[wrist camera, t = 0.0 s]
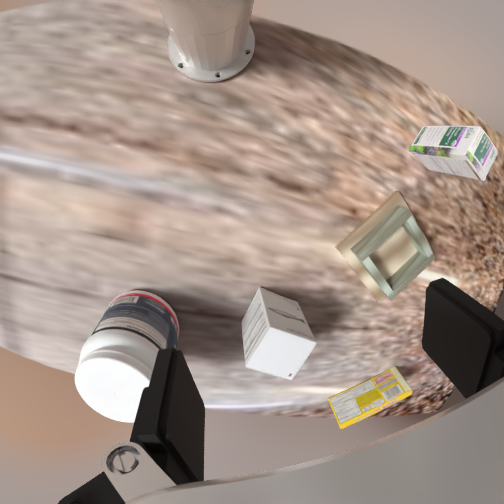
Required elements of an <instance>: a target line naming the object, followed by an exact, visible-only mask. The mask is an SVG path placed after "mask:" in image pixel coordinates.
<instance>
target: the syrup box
mask: <svg viewBox="0 0 504 504" xmlns="http://www.w3.org/2000/svg"><path fill="white" fill-rule="evenodd" d="M409 151H410V152H411V153H412V154H413V155H414V156H415V157H416V158H417V159H418V160H419V161H420V162H421V163H422V164H423V165H424V166H425V167H426V168H427V169H428V170H431V171H437V172H442V173H447V174H453V175H458V176H463V177H467V178H472V179H476V180H481V181H485V179H486V176H487V174H488V173H489V171H490V169H491V167H492V165H493V163H494V161H495V159H496V156H497V154H498V151H497V150H496V148H495V146H494V144H493V143H492V141H491V140H490V138H489V137H488V135H487V134H486V133H485V131H484V130H483V129H482V128H481V127H480V126H423V127H422V129H421V130H420V132H419V133H418V135H417V137H416V138H415V140H414V142H413V143H412V145H411V147H410V148H409Z"/></svg>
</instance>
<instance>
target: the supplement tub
mask: <svg viewBox="0 0 504 504" xmlns="http://www.w3.org/2000/svg"><path fill="white" fill-rule="evenodd" d="M178 336H179V323H178V319H177V317H176V314H175V312H174V311H173V309H172V308H171V307H170V305H169V304H168V303H167V302H165V301H164V300H163V299H162V298H160V297H159V296H157V295H155V294H152V293H149V292H146V291H138V290H135V291H128V292H125V293H122V294H120V295H119V296H117V297H116V298H115V299H113V300H112V302H111V303H110V305H109V306H108V308H107V310H106V311H105V313H104V314H103V316H102V317H101V319H100V320H99V322H98V324H97V325H96V327H95V328H94V330H93V331H92V333H91V335H90V336H89V338H88V340H87V341H86V342H85V343H84V345H83V347H82V350H81V354H80V362H79V364H78V367H77V370H76V373H75V383H76V387H77V390H78V391H79V394H80V395H81V397H82V398H83V400H84V401H85V402H86V403H87V404H88V405H89V406H90V407H91V408H93V409H94V410H95V411H97V412H98V413H100V414H102V415H104V416H106V417H108V418H110V419H113V420H117V421H121V422H135V418H136V414H137V410H138V406H139V402H140V399H141V395H142V391H143V389H144V388H145V387H149V383H150V379H151V375H152V372H153V368H154V364H155V360H156V357H157V353H158V350H160V349H166V348H172V347H174V348H175V349H176V345H177V340H178Z"/></svg>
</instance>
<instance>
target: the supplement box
mask: <svg viewBox="0 0 504 504" xmlns="http://www.w3.org/2000/svg"><path fill="white" fill-rule="evenodd" d="M241 324H242V336H243V345H244V355H245V367H247V368H250V369H253V370H256V371H260V372H263V373H266V374H269V375H273V376H277V377H281V378H284V379H288V380H292V379H293V378H294V376H295V375H296V373H297V372H298V370H299V369H300V368H301V366H302V365H303V363H304V362H305V360H306V359H307V357H308V356H309V354H310V353H311V351H312V350H313V348H314V347H315V345H316V341H315V339H314V336H313V334H312V332H311V330H310V328H309V325H308V323H307V321H306V319H305V317H304V315H303V313H302V310H301V308H300V306H299V304H298V302H297V301H294V300H291V299H288V298H286V297H283V296H280V295H278V294H275V293H273V292H271V291H268V290H266V289H264V288H261V287H259V289H258V291H257V292H256V294H255V296H254V298H253V300H252V302H251V304H250V306H249V308H248V310H247V311H246V313H245V315H244V317H243V319H242V321H241Z"/></svg>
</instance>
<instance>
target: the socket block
mask: <svg viewBox="0 0 504 504" xmlns="http://www.w3.org/2000/svg"><path fill="white" fill-rule="evenodd" d="M335 247H336V249H337V250H338V251H339V252H340V254H341V255H342V256H343V257H344V259H345V260H346V261H347V262H348V264H349V265H350V266H351V268H352V269H353V270H354V272H355V273H356V274H357V275H358V277H359V278H360V279H361V281H362V282H363V283H364V285H365V286H366V287H367V289H368V290H369V291H370V293H371V294H372V295H373V297H374V298H375V299H376V301H377V302H378V303H380V302H382V301H383V300H384V299H385V298H386V297H388V298H389V299H390V300H392V299H393V298H394V297H395V296H397V295H398V294H399V293H400V292H401V291H402V290H403V289H404V288H405V287H406V286H407V285H408V284H409V283H411V282H412V281H413V280H414V279H415V278H416V277H417V276H418V275H419V274H420V273H421V272H422V271H423V270H424V269H425V268H426V267H427V266H428V265H429V264H430V263H431V262H432V261H433V260H434V259H435V256H434V254H433V250H432V248H431V246H430V244H429V242H428V240H427V239H426V237H425V235H424V233H423V231H422V230H421V228H420V226H419V224H418V223H417V221H416V219H415V217H414V216H413V214H412V212H411V211H410V209H409V207H408V206H407V204H406V202H405V201H404V199H403V197H402V196H401V194H400V193H399V192H398V191H395V192H394V193H393V194H392V195H391V196H390V197H389V198H388V199H387V200H386V201H385V202H384V203H383V204H382V205H380V206H379V207H378V208H377V209H376V210H375V211H374V212H373V213H372V214H371V215H370V216H369V217H367V218H366V219H365V220H364V221H363V222H362V223H361V224H360V225H359V226H358V227H356V228H355V229H354V230H353V231H352V232H351V233H350V234H349V235H348V236H346V237H345V238H344V239H343V240H342V241H341V242H340V243H339V244H337V245H336V246H335Z"/></svg>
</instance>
